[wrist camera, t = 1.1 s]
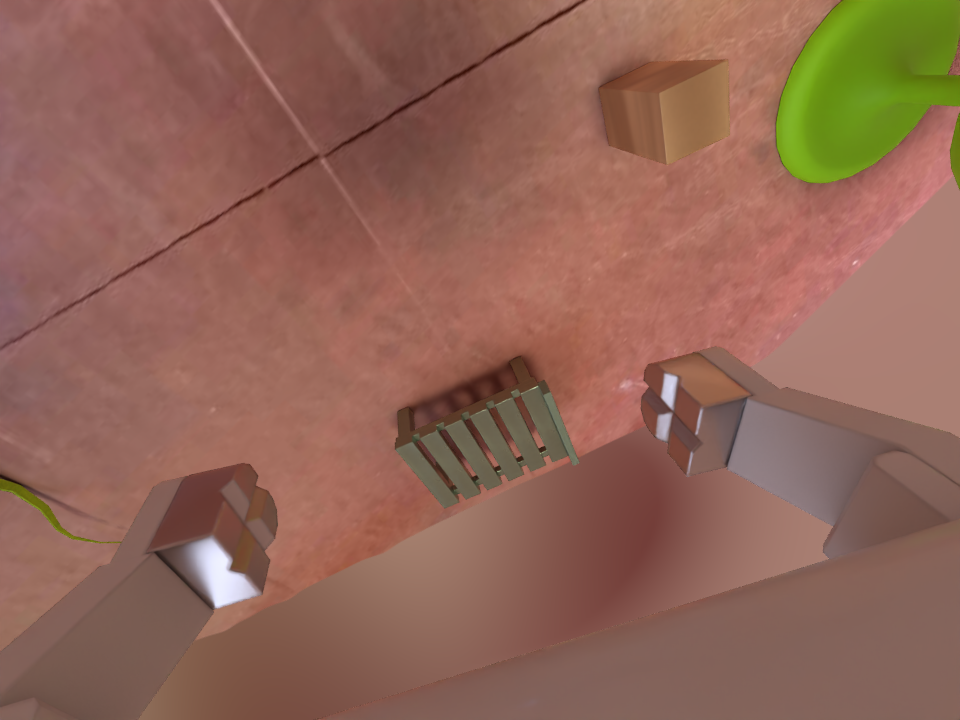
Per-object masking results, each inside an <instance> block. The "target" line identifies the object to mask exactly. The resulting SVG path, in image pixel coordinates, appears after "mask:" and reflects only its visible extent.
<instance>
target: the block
mask: <svg viewBox="0 0 960 720" xmlns="http://www.w3.org/2000/svg"><path fill="white" fill-rule="evenodd" d="M599 94H600V99H601V104H602V110H603V115H604V120H605V126H606V131H607V136H608V142H609V146H612V147H615V148H618V149H621V150H624V151H627V152H630V153H633V154H636V155H638V156H641V157H644V158H647V159H650V160H653V161H656V162H659V163H662V164H665V165H669V164H671V163H673V162H675V161H677V160H679V159H681V158H683V157H685V156H687V155H690V154H692V153H694V152H696V151H698V150H700V149H702V148H704V147H706V146H709V145H711V144H713V143H715V142H717V141H719V140H721V139H723V138H725V137H727V136H729V135H730V120H729V71H728V59H726V60H692V61H657V62H650V63H648V64H646V65H644V66H642V67H640V68H637V69H635V70H633V71H631V72H629V73H627V74H625V75H623V76H621V77H619V78H617V79H615V80H613V81H611V82H609V83H607V84H605V85H603V86H601V87H599Z"/></svg>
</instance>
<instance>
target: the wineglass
mask: <svg viewBox="0 0 960 720" xmlns="http://www.w3.org/2000/svg"><path fill="white" fill-rule="evenodd" d="M959 37H960V0H842V1H841V2H840V3H839V4H838V5H837V6H835V7H834V8H833V9H832V11H831V12H830V13H829V14H828V15H827V17H826V18H825V19H824V20H823V22H822V23H821V24H820V25H819V27H818V28H817V29H816V30H815V32H814V33H813V34H812V35H811V36H810V38H809V40H808V42H807V43H806V45H805V47H804V48H803V50H802V52H801V54H800V55H799V57H798V59H797V60H796V62H795V64H794V65H793V68H792V70H791V73H790V75H789V78H788V80H787V83H786V85H785V88H784V90H783V93H782V96H781V100H780V105H779V110H778V115H777V120H776V143H777V149H778V152H779V155H780V158H781V161H782V164H783V165H784V166H785V167H786V168H787V170H788V171H789V172H790V173H791V174H792V175H793V176H794V177H796V178H798V179H801V180H803V181H805V182H808V183H829V182H833V181H837V180H840V179H844V178H848V177H851V176H852V175H854V174H856V173H858V172H860V171H862V170H864V169H866V168H868V167H870V166H871V165H873V164H874V163H876V162H877V161H878V160H880V159H881V158H882V157H884V156H885V155H886V154H887V153H889V152H890V151H891V150H893V149H894V148H895V147H896V146H897V145H898V144H899V143H900V142H901V141H902V140H903V139H904V138H905V137H906V136H907V135H908V134H909V133H910V132H911V131H912V130H913V129H914V127H915V126H916V125H917V123H918V122H919V121H920V119H921V118H922V117H923V115H924V114H925V113H926V111H927V110H928V109H929V108H930V106H931V105H945V106H960V75H948V73H949V70H950V67H951V65H952V62H953V60H954V57H955V55H956V52H957V47H958V42H959ZM950 159H951V169H952V172H953V174H954V177H955V179H956V182H957V185H958V187H959V189H960V113H959V115H958V118H957V122H956V126H955V130H954V135H953V139H952V144H951V148H950Z"/></svg>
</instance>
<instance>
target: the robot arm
mask: <svg viewBox="0 0 960 720" xmlns="http://www.w3.org/2000/svg"><path fill="white" fill-rule="evenodd" d="M644 381H645V382H646V383H647V385H648V386H649V388H648V389H647V390H646V391H645V393H644V394H643V395H642V399H641V411H642V415H643V419H644V422H645V424H646V426H647V428H648V429H649V431H650V432H651V433H652V434H653V436H654V437H655V438H657V439H659V440H661V441H663V442H666V443H668V454H669V455H670V457H671V458H672V459H673V460H674V461H675V463H676V464H677V465H678V466H679V467H680V469H681V470H682V471H683V472H684V473H685V475H686V476H687V477H688V476H692V475H696V474H700V473H704V472H708V471H712V470H716V469H721V468H724V467H727V470H729V471H731V472H733V473H735V474H737V475H739V476H740V477H742V478H744V479H746V480H748V481H750V482H752V483H753V484H756V485H757V486H759V487H761V488H763V489H765V490H766V491H768V492H770V493H772V494H774V495H776V496H778V497H780V498H781V499H783V500H785V501H787V502H789V503H791V504H793V505H794V506H796V507H798V508H800V509H802V510H804V511H805V512H807V513H809V514H811V515H813V516H815V517H817V518H818V519H820V520H822V521H824V522H826V523H828V524H830V525H832V526H833V528H832V530H831V532H830V534H829V535H828V537H827V539H826V540H825V542H824V545H823V553H824V554H825V555H826V556H827V557H828V558H829V559H828V560H825V561H822V562H819V563H815V564H812V565H809V566H806V567H803V568H799V569H796V570H793V571H790V572H787V573H783V574H780V575H777V576H774V577H771V578H767V579H764V580H761V581H758V582H754V583H751V584H748V585H745V586H742V587H738V588H735V589H732V590H729V591H726V592H722V593H720V594H716V595H713V596H709V597H706V598H703V599H700V600H697V601H693V602H690V603H687V604H684V605H681V606H678V607H674V608H671V609H668V610H665V611H661V612H658V613H655V614H652V615H649V616H645V617H642V618H639V619H636V620H632V621H629V622H626V623H623V624H620V625H617V626H613V627H610V628H607V629H604V630H601V631H597V632H594V633H591V634H588V635H585V636H581V637H578V638H575V639H572V640H568V641H565V642H562V643H559V644H555V645H552V646H549V647H546V648H543V649H539V650H536V651H533V652H530V653H527V654H523V655H520V656H517V657H514V658H511V659H508V660H504V661H501V662H498V663H495V664H491V665H488V666H485V667H482V668H479V669H475V670H472V671H469V672H466V673H463V674H459V675H456V676H453V677H450V678H446V679H444V680H440V681H437V682H434V683H431V684H427V685H424V686H421V687H418V688H414V689H411V690H408V691H405V692H402V693H398V694H395V695H392V696H389V697H386V698H382V699H379V700H376V701H373V702H370V703H367V704H363V705H360V706H357V707H354V708H351V709H347V710H344V711H341V712H338V713H335V714H331V715H328V716H325V717H322V718H318V719H315V720H960V438H958V437H957V436H955V435H953V434H951V433H949V432H946V431H942V430H939V429H935V428H931V427H927V426H924V425H921V424H917V423H913V422H910V421H906V420H903V419H899V418H895V417H892V416H888V415H885V414H881V413H877V412H874V411H870V410H867V409H863V408H859V407H856V406H852V405H849V404H845V403H841V402H838V401H834V400H831V399H827V398H823V397H820V396H817V395H813V394H809V393H806V392H802V391H798V390H795V389H791V388H788V387H786V388H782V389H779V388H777V387H776V386H775V385H773V384H772V383H771V382H769V381H768V380H766V379H765V378H764V377H762V376H761V375H759V374H758V373H757V372H755V371H754V370H753V369H751V368H750V367H748V366H747V365H746V364H744V363H743V362H741V361H740V360H739V359H737V358H736V357H734V356H733V355H732V354H730V353H729V352H728V351H726V350H725V349H723V348H720V347H716V346H714V347H711V348H707V349H703V350H700V351H696V352H693V353H691V354H686V355H682V356H678V357H674V358H670V359H666V360H662V361H658V362H654V363H650V364H648V365H647V367H646V369H645V372H644ZM257 479H258V475H257V473H256V472H255V470H254V469H253V468H252V466H251V465H250V464H245V463H241V464H237V465H232V466H228V467H223V468H219V469H214V470H210V471H205V472H201V473H196V474H192V475H189V476H185V477H180V478H176V479H171V480H167V481H162V482H160V483H159V484H157V485H156V486H154V487H153V488H152V490H151V492H150V494H149V495H148V497H147V499H146V501H145V502H144V504H143V506H142V508H141V509H140V511H139V513H138V515H137V516H136V518H135V520H134V522H133V523H132V525H131V527H130V529H129V530H128V532H127V534H126V536H125V537H124V539H123V541H122V543H121V544H120V546H119V548H118V550H117V551H116V553H115V555H114V557H113V558H112V560H111V562H110V564H107V565H103V566H99V567H98V568H97V569H96V570H95V571H94V572H92V573H91V574H90V575H89V576H88V577H87V578H85V579H84V580H83V581H82V582H81V583H80V584H78V585H77V586H76V587H75V588H74V589H73V590H72V591H70V592H69V593H68V594H67V595H66V596H65V597H63V598H62V599H61V600H60V601H59V602H58V603H56V604H55V605H54V606H53V607H52V608H51V609H50V610H48V611H47V612H46V613H45V614H44V615H43V616H41V617H40V618H39V619H38V620H37V621H36V622H34V623H33V624H32V625H31V626H30V627H29V628H27V629H26V630H25V631H24V632H23V633H22V634H21V635H19V636H18V637H17V638H16V639H15V640H14V641H12V642H11V643H10V644H9V645H8V646H7V647H5V648H4V649H3V650H2V651H1V652H0V720H138V718H139V717H140V716H141V714H142V713H143V711H144V710H145V709H146V707H147V706H148V704H149V703H150V702H151V700H152V699H153V697H154V696H155V694H156V693H157V691H158V690H159V689H160V687H161V686H162V685H163V683H164V682H165V681H166V679H167V678H168V676H169V675H170V673H171V672H172V671H173V669H174V668H175V666H176V665H177V664H178V662H179V661H180V659H181V658H182V657H183V655H184V654H185V652H186V651H187V650H188V648H189V647H190V645H191V644H192V643H193V641H194V640H195V638H196V637H197V636H198V634H199V633H200V631H201V630H202V629H203V627H204V626H205V624H206V623H207V621H208V620H209V619H210V617H211V616H212V614H213V613H214V611H213V610H214V609H218V608H221V607H224V606H227V605H231V604H234V603H237V602H240V601H244V600H247V599H250V598H253V597H257V596H260V595H262V594H263V590H264V585H265V581H266V577H267V572H268V568H269V563H270V559H269V558H268V556H267V555H266V553H265V552H264V551H265V550H266V549H267V548H268V546H269V545H270V544H271V543H272V542H273V540H274V539H275V536H276V531H277V526H278V521H277V509H276V506H275V503H274V500H273V498H272V496H271V495H270V493H269V492H268V491H267V490H265V489H262V488H260V487H258V486H256V482H257Z"/></svg>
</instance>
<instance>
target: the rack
mask: <svg viewBox="0 0 960 720" xmlns="http://www.w3.org/2000/svg"><path fill="white" fill-rule="evenodd" d="M509 362H510V364H511V367H512V369H513V371H514V373H515V376H516V378H517V380H518V383H519V384H516V385H514V386H512V387H510V388H508V389H505V390H503V391H501V392H499V393H496V394H494V395H492V396H490V397H487V398H485V399H483V400H481V401H478V402H476V403H474V404H472V405H469V406H467V407H465V408H463V409H460V410H458V411H456V412H454V413H451V414H449V415H447V416H445V417H443V418H440V419H438V420H436V421H434V422H431V423H429V424H427V425H425V426H422V427H420V428H418V429H416V430H415V423H414V414H413V413H412V411H411V410H410V409H409V407H407V408H404V409H402V410H400V411H398V412H397V413H398V435H399V437H398V438H396V442H395V450H396V451H397V452H398V453H399V455H400V456H401V457H402V458H403V459H404V461H405V462H406V463H407V464H408V465H409V467H410V468H411V469H412V470H413V471H414V473H415V474H416V475H417V476H418V477H419V479H420V480H421V481H422V482H423V483H424V484H425V486H426V487H427V488H428V489H429V490H430V492H431V493H432V494H433V495H434V496H435V498H436V499H437V500H438V501H439V502H440V504H441V505H442V506H443V507H444V508H447V507H450V506H452V505H454V504H457V503H459V497H458V495H457V494H460V493H461V494H462V495H463V496H464V498H465V499H468V498H471V497H473V496H475V495H478V494H480V493H481V491H480V487H479V485H481V484H483V485H484V486H485V488H486V489H487V490H489V489H492V488H494V487H496V486H499V485H501V484H502V480H501V477H500V476H502V475H504V474H505V476H506V477H507V479H508V481H510V480H513V479H515V478H517V477H520V476H522V475H524V472H523V469H522V467H523V466H525V465H527V466H528V468H529V470H530V471H534V470H536V469H538V468H541V467H543V466H545V465H546V463H545V461H544V459H543V458H544V457H546V456H548V455H549V456H550V458H551V460H552V462H555V461H557V460H560V459H562V458H564V457H567V456H569V458H570V460H571V462H572V464H573V465H576V464H578V463H579V460H578V458H577V455H576V453H575V450H574V448H573V445H572V443H571V440H570V438H569V435H568V433H567V431H566V428H565V426H564V423H563V421H562V418H561V416H560V413H559V411H558V409H557V406H556V404H555V401H554V399H553V396H552V394H551V391H550V390H549V388H548V386H547V384H546V382H545V380H543V381H540V382H538V383H537V382H536V380H535V378H534V377H532V378H531V376H530V374H529V372H528V370H527V368H526V366H525V364H524V362H523V360H522V358H521V356H520V357H517V358H515V359H513V360H511V361H509ZM518 396H521V397H522V399H523V401H524V403H525V405H526V407H527V410H528V412H529V414H530V416H531V418H532V420H533V422H534V424H535V426H536V429H537V431H538V433H539V435H540V437H541V439H542V441H543V443H544V445H545V446H543V447H541V448H538V446H537V444H536V442H535V440H534V438H533V436H532V434H531V432H530V430H529V428H528V426H527V424H526V422H525V420H524V418H523V416H522V414H521V412H520V410H519V408H518V406H517V404H516V402H515V400H514V398H516V397H518ZM494 407H496V409H497V411H498V412H499V414H500V416H501V418H502V420H503V422H504V424H505V425H506V427H507V429H508V431H509V433H510V435H511V436H512V438H513V440H514V442H515V444H516V446H517V448H518V449H519V451H520V453H521V455H522V456H520V457H518V458H516V456H515V455H514V453H513V451H512V449H511V448H510V446H509V444H508V442H507V440H506V439H505V437H504V435H503V433H502V431H501V430H500V428H499V426H498V424H497V422H496V421H495V419H494V417H493V415H492V413H491V412H490V410H489V409H491V408H494ZM469 418H471V420H472V422H473V423H474V425H475V426H476V428H477V430H478V431H479V433H480V435H481V436H482V438H483V440H484V441H485V443H486V444H487V446H488V448H489V449H490V451H491V453H492V454H493V456H494V458H495V459H496V461H497V463H498V464H499V466H497V467H494V466H493V464H492V463H491V461H490V460H489V458H488V457H487V455H486V453H485V452H484V450H483V449H482V447H481V445H480V444H479V442H478V441H477V439H476V437H475V436H474V434H473V433H472V431H471V429H470V428H469V426H468V425H467V423H466V421H465V420H467V419H469ZM444 429H446V431H447V432H448V434H449V435H450V436H451V438H452V439H453V441H454V442H455V444H456V445H457V447H458V448H459V450H460V451H461V453H462V454H463V455H464V457H465V458H466V460H467V461H468V463H469V464H470V466H471V467H472V469H473V470H474V472H475V473H476V476H474V477H472V475H471V474H470V472H469V471H468V469H467V468H466V467H465V465H464V464H463V462H462V461H461V459H460V458H459V457H458V455H457V454H456V452H455V451H454V449H453V448H452V447H451V445H450V444H449V442H448V441H447V439H446V438H445V436H444V435H443V434H442V432H441V431H442V430H444ZM419 440H421V441H422V442H423V444H424V445H425V446H426V448H427V449H428V450H429V452H430V453H431V454H432V456H433V457H434V458H435V459H436V466H435V465H434V463H433V462H432V461H431V460H430V458H429V457H428V456H427V454H426V453H425V452H424V450H423V449H422V448H421V447H420V445H419V444H418V443H417V441H419ZM453 483H454V485H453Z"/></svg>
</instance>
